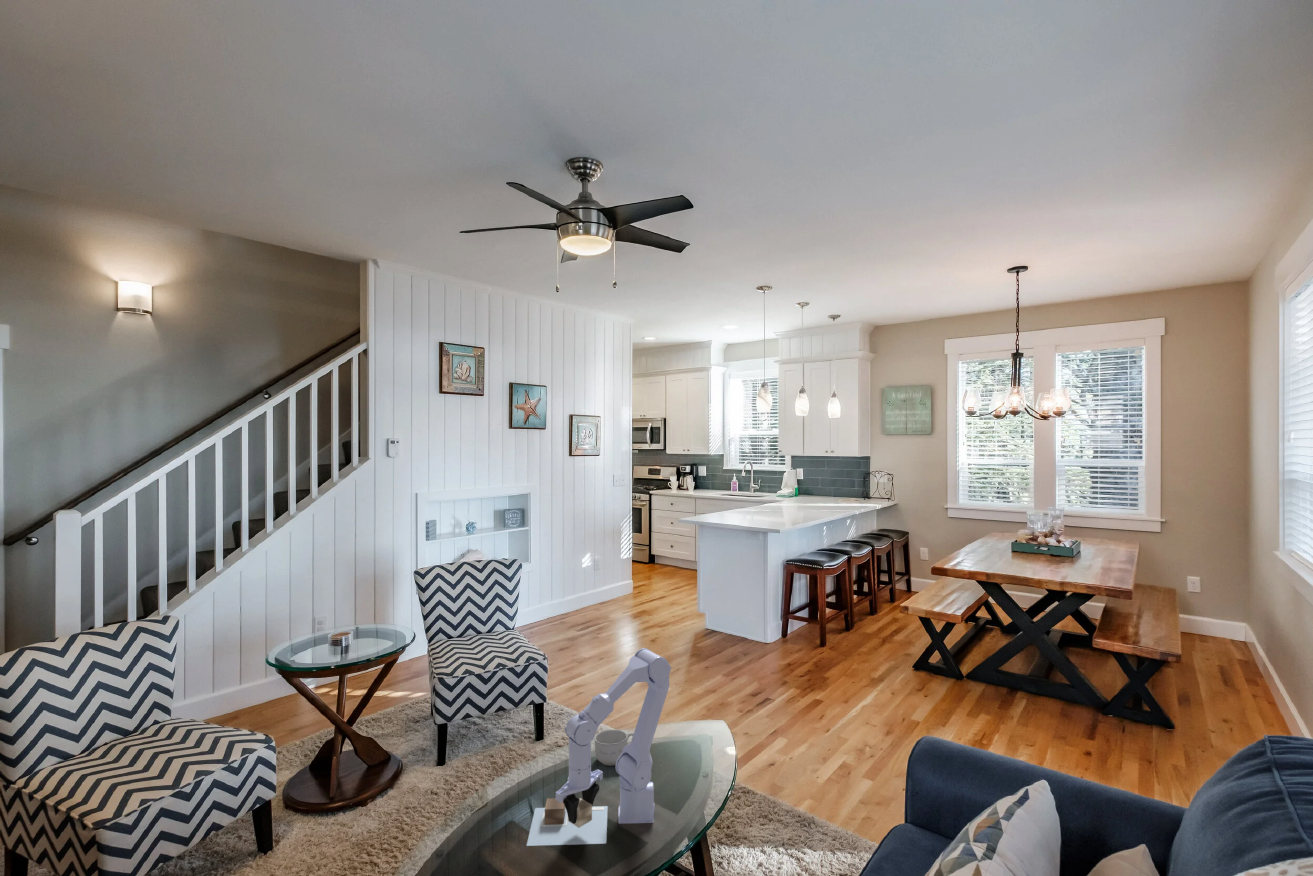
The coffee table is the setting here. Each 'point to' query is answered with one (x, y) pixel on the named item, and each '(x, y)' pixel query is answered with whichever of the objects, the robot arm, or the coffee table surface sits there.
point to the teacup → (610, 745)
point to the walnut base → (554, 811)
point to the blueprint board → (568, 830)
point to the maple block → (583, 813)
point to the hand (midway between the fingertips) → (579, 817)
